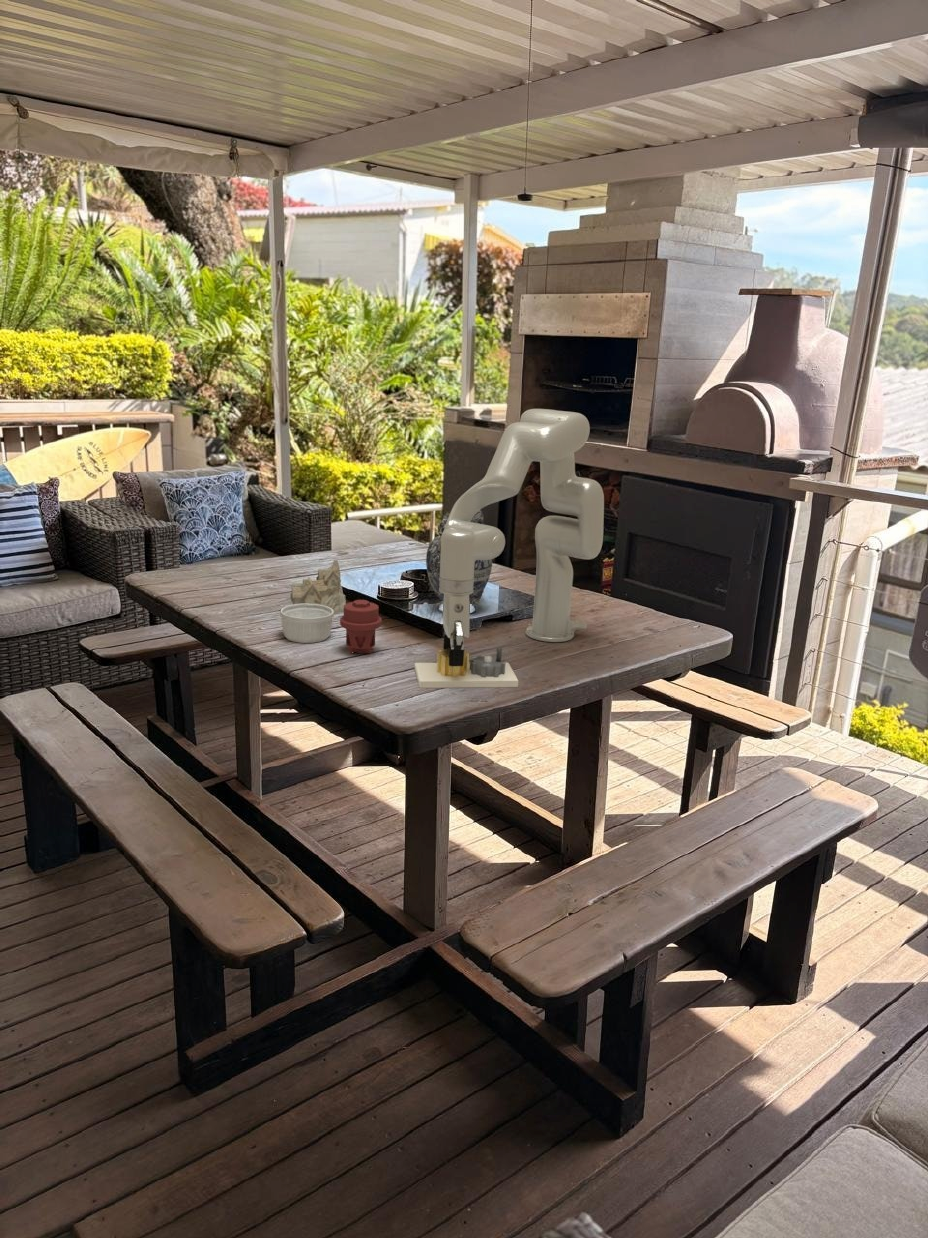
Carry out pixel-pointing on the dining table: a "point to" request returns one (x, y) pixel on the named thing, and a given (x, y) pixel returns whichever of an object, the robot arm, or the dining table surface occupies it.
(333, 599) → the ceramic cottage
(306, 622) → the ramekin
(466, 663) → the brass gear
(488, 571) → the decorative vase
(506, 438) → the robot arm
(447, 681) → the gear board
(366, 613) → the mechanical component
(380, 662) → the dining table surface
